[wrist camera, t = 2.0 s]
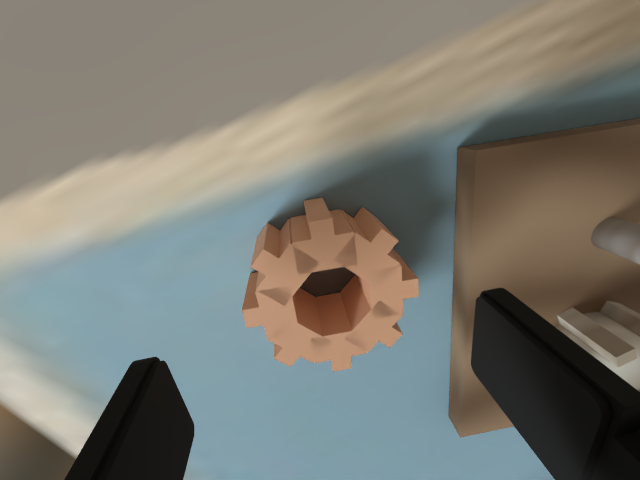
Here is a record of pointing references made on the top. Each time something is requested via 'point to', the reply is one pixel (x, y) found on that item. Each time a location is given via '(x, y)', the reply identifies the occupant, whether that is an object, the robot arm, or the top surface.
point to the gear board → (548, 248)
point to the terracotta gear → (334, 309)
